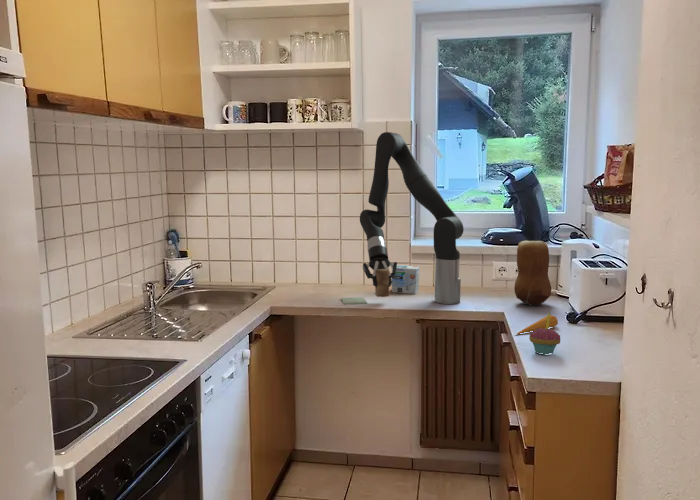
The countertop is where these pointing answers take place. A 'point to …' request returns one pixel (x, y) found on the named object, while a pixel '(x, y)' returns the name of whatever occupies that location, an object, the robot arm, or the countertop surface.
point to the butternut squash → (532, 272)
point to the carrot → (541, 324)
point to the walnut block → (382, 283)
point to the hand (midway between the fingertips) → (383, 285)
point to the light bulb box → (406, 279)
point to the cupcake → (544, 339)
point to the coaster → (354, 300)
